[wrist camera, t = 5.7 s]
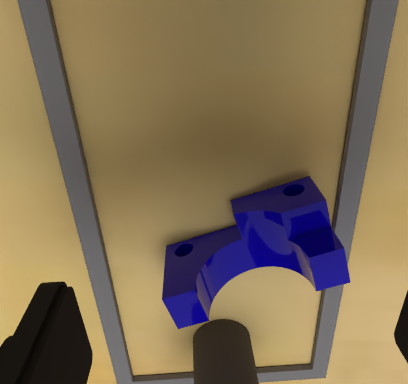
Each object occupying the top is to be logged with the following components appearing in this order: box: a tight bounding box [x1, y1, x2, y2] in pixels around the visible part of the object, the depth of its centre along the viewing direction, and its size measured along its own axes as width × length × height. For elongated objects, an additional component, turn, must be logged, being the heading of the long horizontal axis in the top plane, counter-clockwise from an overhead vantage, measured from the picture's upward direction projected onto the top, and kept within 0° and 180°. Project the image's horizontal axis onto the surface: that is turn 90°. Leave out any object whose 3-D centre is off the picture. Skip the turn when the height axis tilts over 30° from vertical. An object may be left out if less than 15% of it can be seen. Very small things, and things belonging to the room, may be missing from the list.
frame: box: [18, 0, 398, 384], centre depth 17 cm, size 30×14×1 cm, turn 3°
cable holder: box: [162, 176, 350, 329], centre depth 17 cm, size 8×4×4 cm, turn 108°
